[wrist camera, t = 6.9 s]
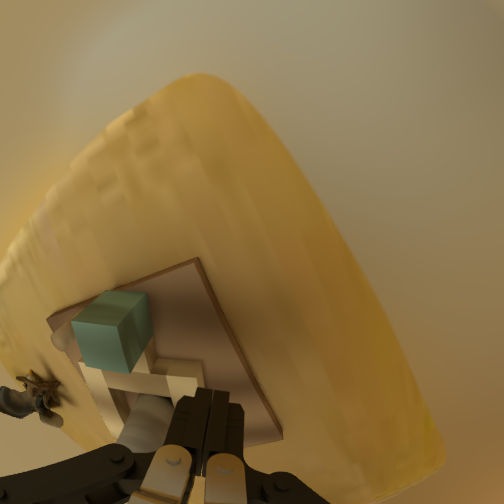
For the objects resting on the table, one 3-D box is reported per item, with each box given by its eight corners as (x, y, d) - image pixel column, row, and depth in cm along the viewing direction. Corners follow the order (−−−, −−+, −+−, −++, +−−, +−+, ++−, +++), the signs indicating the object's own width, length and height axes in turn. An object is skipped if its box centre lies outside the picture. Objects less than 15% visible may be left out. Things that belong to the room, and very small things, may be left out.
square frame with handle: (213, 438, 20) (207, 478, 15) (119, 424, 20) (103, 458, 15) (193, 293, 16) (174, 330, 12) (72, 288, 16) (35, 314, 12)
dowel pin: (97, 319, 17) (68, 349, 13) (86, 323, 17) (57, 352, 13) (89, 304, 16) (58, 332, 13) (78, 308, 17) (47, 335, 13)
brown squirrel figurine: (19, 342, 18) (-9, 372, 18) (16, 407, 13) (-11, 426, 13) (74, 372, 23) (40, 396, 23) (82, 431, 18) (44, 446, 18)
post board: (282, 429, 21) (289, 505, 13) (152, 447, 22) (133, 507, 14) (197, 257, 17) (153, 322, 9) (53, 313, 18) (-7, 364, 10)
